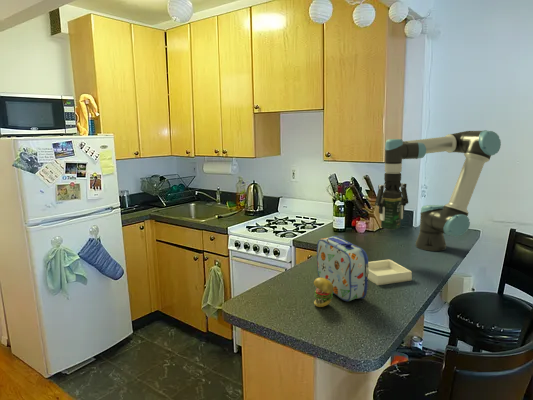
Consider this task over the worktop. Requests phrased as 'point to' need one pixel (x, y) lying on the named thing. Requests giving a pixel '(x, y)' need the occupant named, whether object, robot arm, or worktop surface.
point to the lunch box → (343, 267)
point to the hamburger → (323, 292)
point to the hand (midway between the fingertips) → (391, 219)
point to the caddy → (387, 272)
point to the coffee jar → (392, 209)
